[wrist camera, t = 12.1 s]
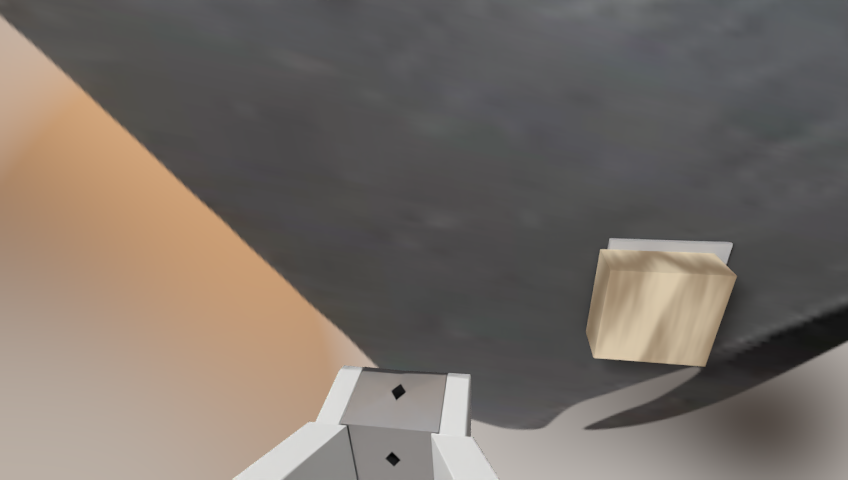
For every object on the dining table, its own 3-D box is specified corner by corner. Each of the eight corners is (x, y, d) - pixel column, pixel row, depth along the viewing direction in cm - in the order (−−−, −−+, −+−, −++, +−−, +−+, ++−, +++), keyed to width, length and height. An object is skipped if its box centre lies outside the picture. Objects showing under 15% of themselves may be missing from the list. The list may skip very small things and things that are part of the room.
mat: (730, 242, 38) (733, 244, 37) (697, 344, 43) (698, 347, 42) (609, 238, 39) (610, 240, 39) (591, 337, 45) (592, 339, 44)
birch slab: (600, 249, 39) (714, 253, 38) (585, 331, 44) (687, 338, 42) (610, 270, 36) (736, 276, 34) (593, 357, 40) (704, 366, 39)
